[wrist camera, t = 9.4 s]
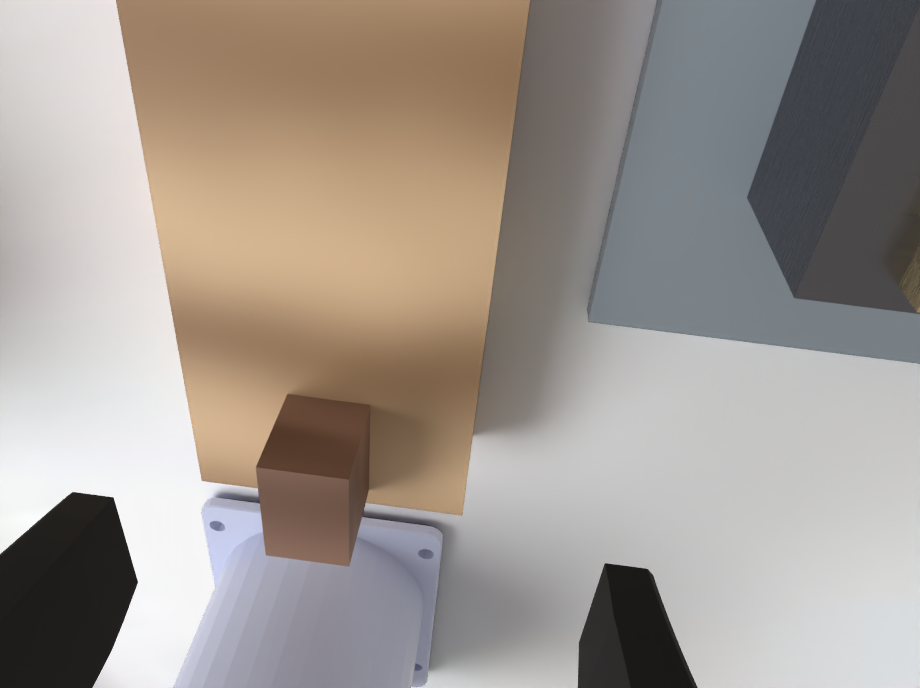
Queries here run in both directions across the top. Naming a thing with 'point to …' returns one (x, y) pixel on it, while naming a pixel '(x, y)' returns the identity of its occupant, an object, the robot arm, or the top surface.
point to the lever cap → (848, 159)
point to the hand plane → (328, 240)
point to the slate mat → (717, 192)
